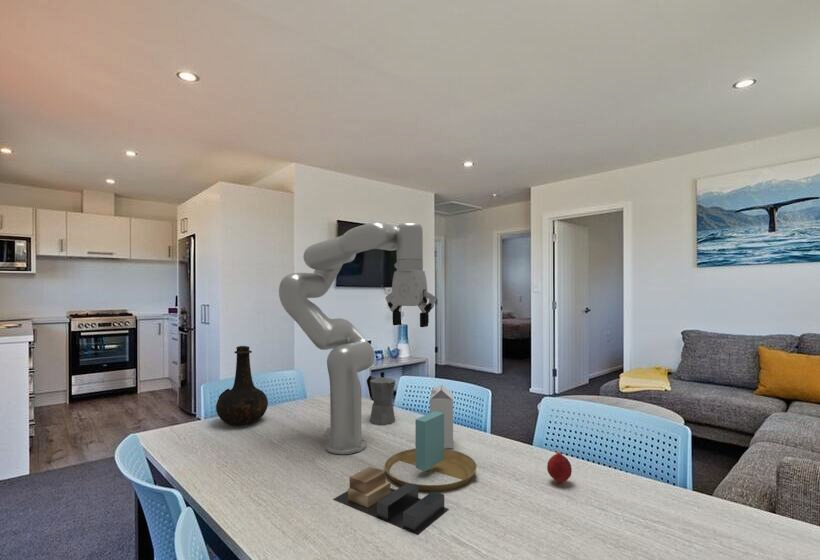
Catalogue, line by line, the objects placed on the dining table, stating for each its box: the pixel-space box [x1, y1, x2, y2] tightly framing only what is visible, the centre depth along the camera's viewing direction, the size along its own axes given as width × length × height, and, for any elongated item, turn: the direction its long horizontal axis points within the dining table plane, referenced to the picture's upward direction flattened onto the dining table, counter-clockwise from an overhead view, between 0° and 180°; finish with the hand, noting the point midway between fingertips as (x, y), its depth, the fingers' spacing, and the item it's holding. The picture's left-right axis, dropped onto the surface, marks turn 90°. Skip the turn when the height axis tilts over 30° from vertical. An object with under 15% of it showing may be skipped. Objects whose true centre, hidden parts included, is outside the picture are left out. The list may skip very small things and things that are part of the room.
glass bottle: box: [215, 345, 269, 427], centre depth 157 cm, size 18×18×28 cm
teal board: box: [415, 411, 445, 472], centre depth 113 cm, size 3×9×12 cm, turn 143°
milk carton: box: [429, 381, 454, 449], centre depth 135 cm, size 7×7×19 cm
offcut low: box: [347, 480, 391, 507], centre depth 100 cm, size 6×8×2 cm
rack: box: [332, 482, 450, 536], centre depth 96 cm, size 24×12×4 cm, turn 54°
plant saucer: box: [384, 448, 478, 492], centre depth 113 cm, size 24×24×3 cm
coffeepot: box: [366, 371, 396, 426], centre depth 159 cm, size 15×9×18 cm, turn 44°
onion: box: [546, 450, 573, 484], centre depth 108 cm, size 6×6×8 cm
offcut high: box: [349, 466, 387, 494], centre depth 100 cm, size 5×7×2 cm
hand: (410, 325), depth 123 cm, fingers open, 9 cm apart
